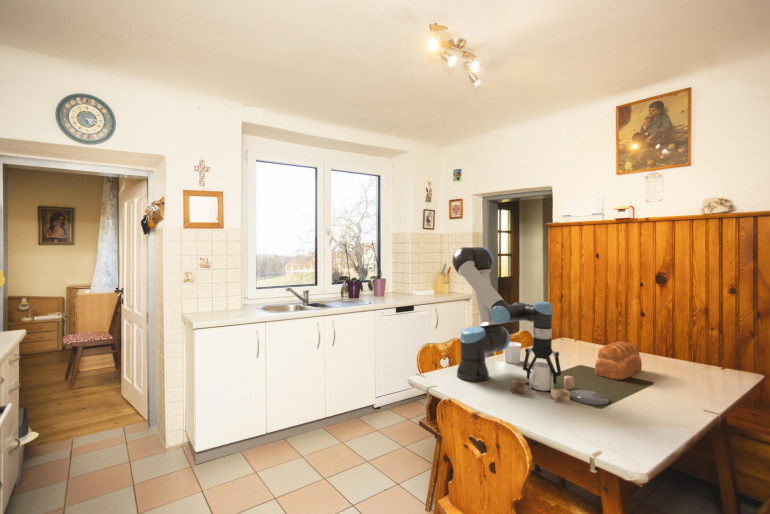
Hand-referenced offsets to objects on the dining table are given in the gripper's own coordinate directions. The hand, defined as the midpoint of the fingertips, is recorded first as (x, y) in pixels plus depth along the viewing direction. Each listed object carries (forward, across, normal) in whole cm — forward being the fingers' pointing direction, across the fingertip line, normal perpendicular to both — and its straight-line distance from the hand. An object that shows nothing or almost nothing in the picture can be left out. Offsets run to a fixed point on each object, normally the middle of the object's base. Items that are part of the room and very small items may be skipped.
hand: (541, 388), depth 171 cm
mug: (0, -1, 0) cm, 1 cm away
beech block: (+1, +8, -8) cm, 12 cm away
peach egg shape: (+1, +10, +9) cm, 14 cm away
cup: (+2, -21, +39) cm, 44 cm away
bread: (+1, +30, +45) cm, 54 cm away
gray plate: (0, +18, 0) cm, 18 cm away
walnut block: (+1, -9, -7) cm, 11 cm away
